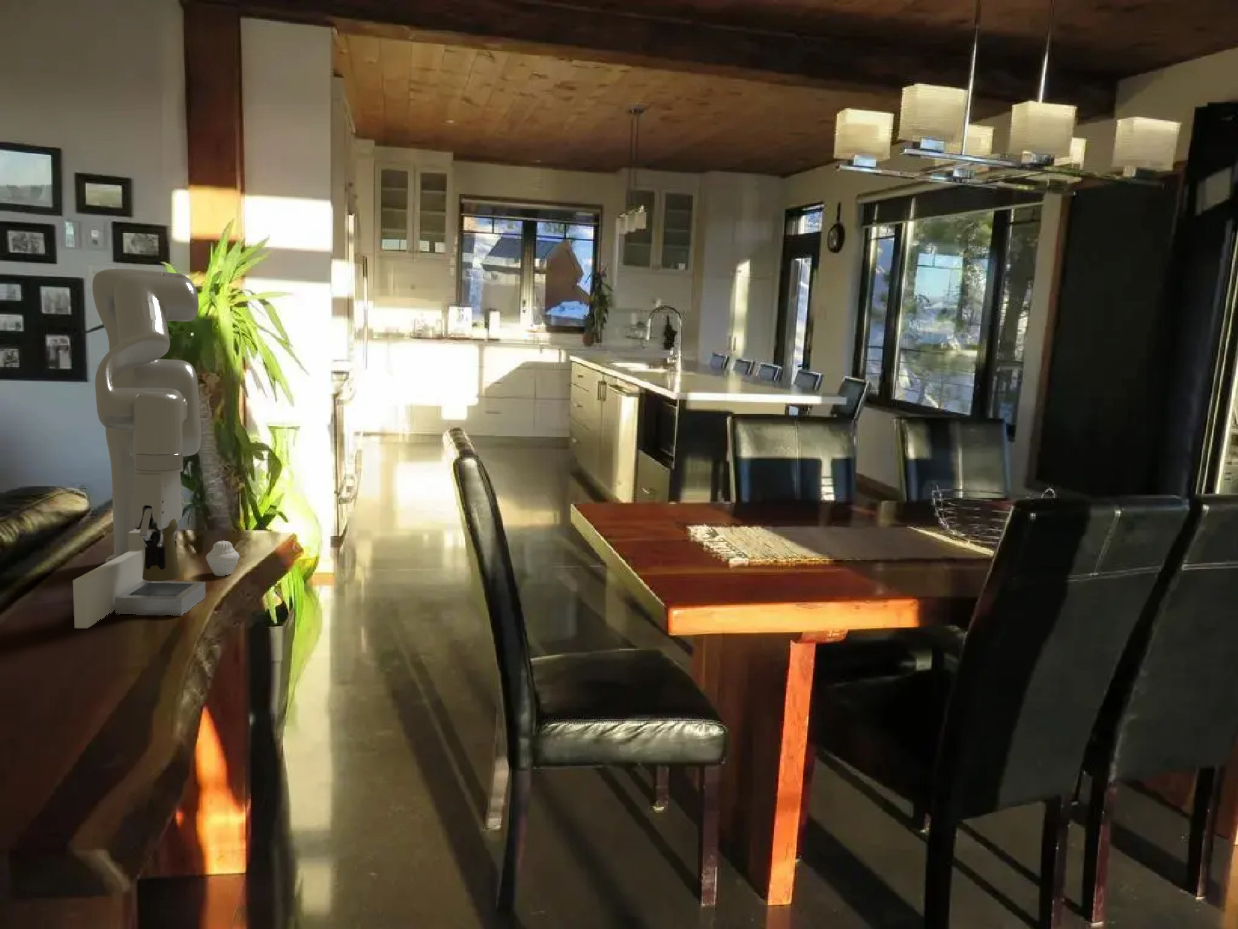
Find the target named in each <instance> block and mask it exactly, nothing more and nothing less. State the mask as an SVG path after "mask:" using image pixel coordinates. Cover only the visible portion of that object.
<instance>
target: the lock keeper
mask: <svg viewBox="0 0 1238 929" xmlns="http://www.w3.org/2000/svg"><path fill="white" fill-rule="evenodd" d="M205 597H206V581H191V580H187V581H186V580H184V581H183V580H168V581H146V580H143V581H141V582H139V583H138V584H136V585H135V586H133V587H131V588H130V589H128V590H126V591H125V592H123V593H121V594H120V595H118V596H116V597H115V611H114V612H115V613H116V614H115V613H114V614H115V615H120V613H121V614H134V615H133V616H165V615H171V616H172V615H173V616H174V617H176V616H177V617H178V616H179V617H180V616H181V617H182V616H184V615H185V614H187V612H189V611H190V610H191V609H193V608H194V607H195V606H197V605H198V604H199V603H200V602H202V601H203V600H205V599H206V598H205ZM197 603H198V604H197ZM192 607H193V608H192ZM117 613H119V614H117ZM184 613H185V614H184ZM135 614H136V615H135ZM183 614H184V615H183ZM171 616H170V617H171Z"/></svg>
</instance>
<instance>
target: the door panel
mask: <svg viewBox="0 0 1238 929" xmlns="http://www.w3.org/2000/svg"><path fill="white" fill-rule="evenodd" d="M144 561H145V547H144V540H143V538H142V537H141V536H140V530H136V529H135V530H133V531H130V532H128V552H127V553H125V554H123V555H121V556H119V557H117V558H115V559H113V560H111V561H109V562H107V563H106V562H105V563H104V564H102V565H100V566H98V567H97V568H94V569H92V570H90V571H88V572H85V573H84V574H82V575H81V576H79V577H76V578H75V579H73V580H72V587H73V588H72V590H73V591H72V593H73V616H74V619H73V621H74V629H88V628H90V627H92V626H94V625H95V624H96V623H98V622H100V621H101V620H103V619H105V618H106V617H107V616H109V615H110V614H112V613H113V611H114V610H115V597H116V596H118V595H120V594H121V593H123V592H125V591H126V590H128V589H130V588H131V587H133V586H135V585H136V584H138V583H139V582H141V581H143V578H142V577H143V569H144ZM114 612H115V611H114ZM109 613H110V614H109ZM108 614H109V615H108ZM106 615H107V616H106ZM105 616H106V617H105ZM100 619H101V620H100ZM99 620H100V621H99ZM97 621H98V622H97Z"/></svg>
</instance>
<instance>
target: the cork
mask: <svg viewBox="0 0 1238 929" xmlns="http://www.w3.org/2000/svg"><path fill="white" fill-rule="evenodd" d="M151 529H157V528H156V525H152V527H151ZM177 529H178V524H177V522H176V520H175V519H173V520H171V522H170V524H169V526H168V527H167V528H165V529H163V530H164V536H163V546H165V553H166V567H165V569H160V568H159V567H158V566H157V565H156V566H151V567H150V569H146V567H145V561H144V569H143V577H142V578H143V580H146V581H174V580H177V579H179V578H181V571H180V564H179V558H178V553H177V545H176V546H175V541H176V540H174V532H175V531H177ZM152 534H155V535H156V536H157V538H158V533H156V532H152Z"/></svg>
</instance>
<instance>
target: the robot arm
mask: <svg viewBox="0 0 1238 929" xmlns="http://www.w3.org/2000/svg"><path fill="white" fill-rule="evenodd" d="M91 285H92V287H91V288H92V289H91V290H92V296H93V301H94V304H95V305H94V306H95V309H96V312H97V314H98V316H99V318H100V321H101V323H102V325H103V326H104V329H105V332H106V335H107V340H108V350H109V351H108V352H107V353H106V354H105V355H104V357H103V358H102V359H101V361H100V363H99V365H98V366H97V369H96V373H95V381H94V386H95V387H94V388H95V401H96V403H95V404H96V413H97V417H98V420H99V421H100V424H102V426H104V427H105V439H106V443H107V448H108V449H107V450H108V452H109V461H110V471H111V485H112V486H111V490H112V493H111V495H112V520H113V522H112V523H113V526H112V527H113V530H112V531H113V554H112V555H109V556H108V557H107V558H105V563H107V562H109V561H111V560H113V559H115V558H117V557H119V556H121V555H123V554H125V553H127V552H128V532H130V531H133V530H135V529H136V530H140V536H141V537H142V538H143V540H144V547H145V567H146V569H150V567H151V566H156V565H157V566H158V567H159V568H160V569H165V567H166V553H165V546H163V536H164V530H163V529H165V528H167V527H168V526H169V524H170V522H171V520H173V519H175V520H176V522H177V525H178V524H179V522H180V521H181V520H182V518H183V504H184V503H183V487H182V486H183V485H182V477H181V473H182V472H183V471H184V458H183V457H189V456H193V455H195V454H197V453H198V452H199V450H200V449H201V447H202V446H201V445H202V425H201V423H202V421H201V408H200V407H201V406H200V394H199V393H200V392H199V383H198V382H199V381H198V375H197V373H196V369H195V368H194V366H193V365H192V364H191V363H190V362H188V361H186V360H181V359H165V358H164V359H163V358H162V357H164V356H166V354H167V353H168V352H169V350H170V346H171V340H170V333H169V328H168V321H169V322H191V321H194V320H195V319H196V317H197V316H198V313H199V310H200V308H199V307H200V304H199V303H200V302H199V294H198V290H197V288H196V286H195V284H194V283H193V281H192V280H191V279H190V278H189V277H188V276H186V275H185V274H183V273H179V272H170V271H169V272H168V271H156V270H143V269H142V270H141V269H130V268H109V269H103V270H100V271H98V272H96V273H95V275H94V276H93V279H92V284H91ZM152 525H156V528H157V529H151V527H152ZM152 532H156V533H158V538H157V536H156V535H155V534H152ZM177 538H178V533H177V530H176V531H175V532H174V540H175V546H176V547H177Z"/></svg>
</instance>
